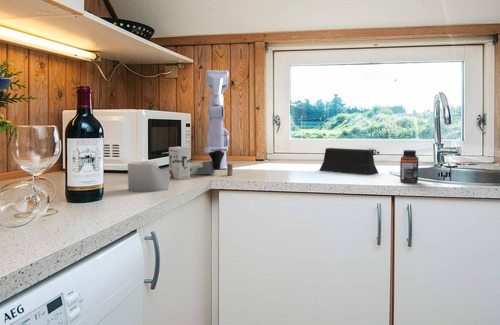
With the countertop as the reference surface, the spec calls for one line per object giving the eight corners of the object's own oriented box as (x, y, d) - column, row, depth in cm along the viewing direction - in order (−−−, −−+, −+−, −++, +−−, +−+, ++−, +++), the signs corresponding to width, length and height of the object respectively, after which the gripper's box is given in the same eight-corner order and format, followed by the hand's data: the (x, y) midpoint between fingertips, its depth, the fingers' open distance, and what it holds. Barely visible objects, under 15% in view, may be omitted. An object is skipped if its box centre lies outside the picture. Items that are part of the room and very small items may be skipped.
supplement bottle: (403, 180, 155) (404, 149, 154) (420, 182, 151) (421, 150, 150) (397, 182, 150) (398, 150, 149) (414, 184, 146) (415, 151, 145)
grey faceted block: (201, 173, 176) (200, 161, 176) (215, 173, 174) (214, 160, 174) (197, 174, 172) (196, 162, 172) (211, 173, 170) (210, 161, 170)
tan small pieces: (200, 171, 182) (200, 161, 182) (202, 171, 183) (202, 161, 183) (229, 175, 170) (229, 164, 169) (232, 175, 171) (232, 164, 170)
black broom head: (378, 173, 177) (379, 149, 176) (369, 175, 170) (370, 150, 169) (329, 169, 192) (329, 147, 191) (318, 171, 186) (319, 148, 185)
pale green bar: (206, 172, 179) (206, 163, 179) (208, 172, 178) (208, 164, 177) (186, 174, 172) (186, 165, 171) (188, 174, 170) (188, 166, 170)
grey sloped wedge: (173, 190, 135) (173, 163, 134) (130, 193, 129) (129, 164, 129) (167, 186, 143) (166, 160, 142) (126, 188, 138) (125, 162, 137)
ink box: (168, 177, 165) (167, 146, 164) (179, 176, 168) (179, 146, 167) (179, 179, 159) (178, 148, 157) (190, 178, 161) (190, 147, 160)
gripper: (217, 136, 179) (218, 168, 180) (197, 136, 167) (198, 170, 167) (232, 136, 176) (232, 168, 177) (213, 136, 163) (213, 171, 164)
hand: (216, 169), depth 172 cm, fingers closed, pressing on grey faceted block
